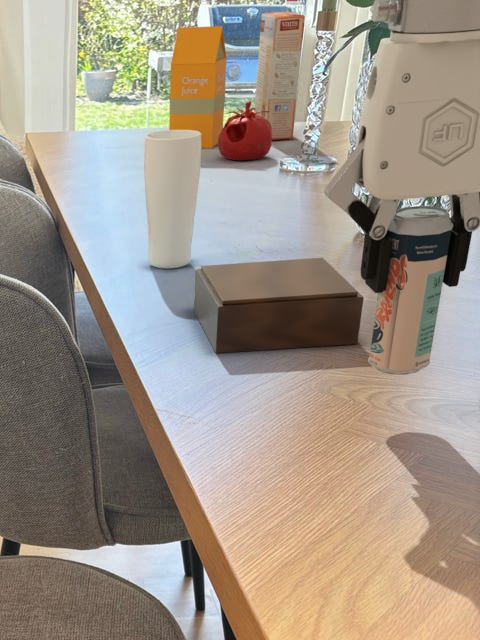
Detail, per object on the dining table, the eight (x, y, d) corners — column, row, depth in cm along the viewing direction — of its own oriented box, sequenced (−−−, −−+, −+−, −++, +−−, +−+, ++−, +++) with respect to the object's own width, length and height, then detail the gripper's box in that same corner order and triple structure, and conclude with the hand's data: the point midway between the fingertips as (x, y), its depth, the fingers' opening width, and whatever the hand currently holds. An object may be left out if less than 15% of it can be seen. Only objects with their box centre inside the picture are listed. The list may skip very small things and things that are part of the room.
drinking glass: (140, 258, 129) (142, 131, 121) (192, 255, 129) (198, 127, 120) (144, 272, 124) (147, 140, 115) (199, 269, 123) (205, 136, 115)
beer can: (368, 355, 84) (388, 204, 77) (429, 357, 82) (455, 204, 75) (365, 376, 80) (386, 220, 73) (428, 378, 79) (456, 220, 72)
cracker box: (294, 139, 194) (306, 13, 182) (263, 141, 194) (273, 16, 182) (281, 128, 205) (291, 9, 193) (251, 130, 206) (260, 12, 194)
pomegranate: (255, 150, 187) (259, 95, 182) (281, 158, 179) (286, 100, 174) (207, 156, 185) (209, 100, 180) (230, 165, 177) (234, 106, 172)
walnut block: (320, 302, 109) (326, 255, 107) (357, 344, 98) (364, 292, 95) (193, 311, 110) (195, 264, 107) (215, 353, 99) (218, 302, 96)
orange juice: (180, 140, 202) (183, 26, 190) (222, 141, 198) (229, 23, 187) (168, 147, 196) (171, 29, 184) (211, 148, 192) (217, 27, 181)
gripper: (339, 28, 64) (312, 309, 75) (608, 1, 63) (542, 289, 74) (310, 20, 70) (289, 280, 81) (555, -5, 69) (501, 262, 80)
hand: (410, 282), depth 77 cm, fingers closed on beer can, 4 cm apart
